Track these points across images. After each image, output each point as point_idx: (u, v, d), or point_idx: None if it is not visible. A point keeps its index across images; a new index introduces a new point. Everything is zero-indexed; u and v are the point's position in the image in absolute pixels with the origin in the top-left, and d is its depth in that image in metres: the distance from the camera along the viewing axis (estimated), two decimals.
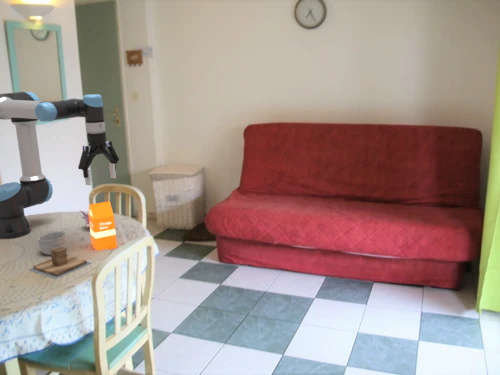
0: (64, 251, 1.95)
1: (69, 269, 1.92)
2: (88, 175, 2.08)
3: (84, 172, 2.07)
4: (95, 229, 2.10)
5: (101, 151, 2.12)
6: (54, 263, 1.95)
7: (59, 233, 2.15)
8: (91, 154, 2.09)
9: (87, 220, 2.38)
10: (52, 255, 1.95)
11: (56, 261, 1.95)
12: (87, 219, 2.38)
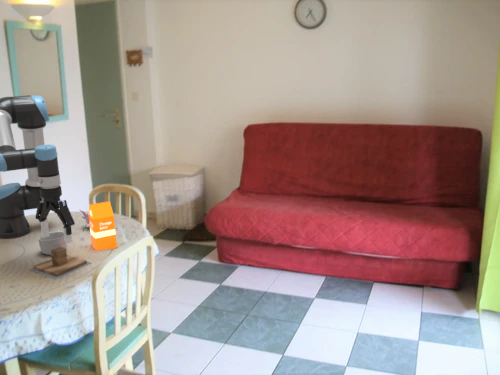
0: (64, 251, 1.95)
1: (69, 269, 1.92)
2: None
3: None
4: (95, 229, 2.10)
5: (51, 208, 1.90)
6: (54, 263, 1.95)
7: (59, 233, 2.15)
8: None
9: (87, 220, 2.38)
10: (52, 255, 1.95)
11: (56, 261, 1.95)
12: (87, 219, 2.38)
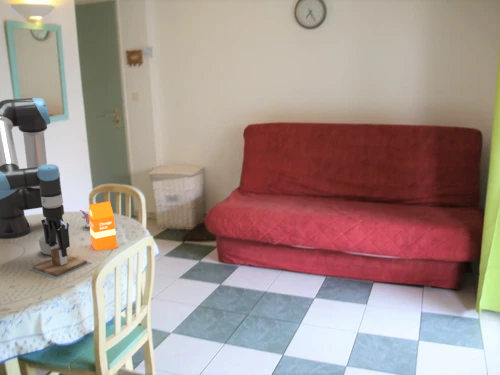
0: None
1: (69, 269, 1.92)
2: None
3: None
4: (95, 229, 2.10)
5: None
6: (54, 263, 1.95)
7: None
8: None
9: (87, 219, 2.39)
10: (52, 255, 1.95)
11: (56, 261, 1.95)
12: (87, 219, 2.39)
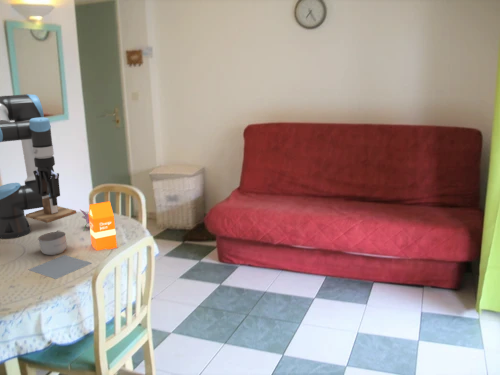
0: None
1: (59, 217, 2.04)
2: None
3: None
4: (95, 229, 2.10)
5: None
6: (45, 212, 2.07)
7: (59, 233, 2.15)
8: None
9: (87, 219, 2.39)
10: (43, 204, 2.06)
11: (47, 209, 2.06)
12: (88, 219, 2.39)
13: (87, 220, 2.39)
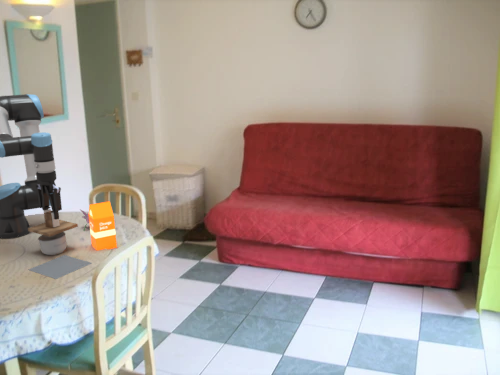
0: None
1: (61, 230, 2.06)
2: None
3: None
4: (95, 229, 2.10)
5: None
6: (47, 225, 2.09)
7: (59, 233, 2.15)
8: None
9: (88, 219, 2.39)
10: (45, 218, 2.09)
11: (48, 223, 2.08)
12: (88, 218, 2.39)
13: (87, 220, 2.39)
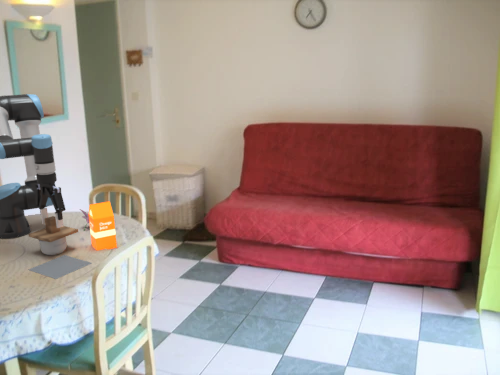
0: None
1: (62, 236, 2.07)
2: None
3: None
4: (95, 229, 2.10)
5: None
6: (48, 231, 2.10)
7: None
8: None
9: (88, 219, 2.39)
10: (46, 223, 2.09)
11: (49, 229, 2.09)
12: (88, 218, 2.39)
13: (87, 220, 2.39)
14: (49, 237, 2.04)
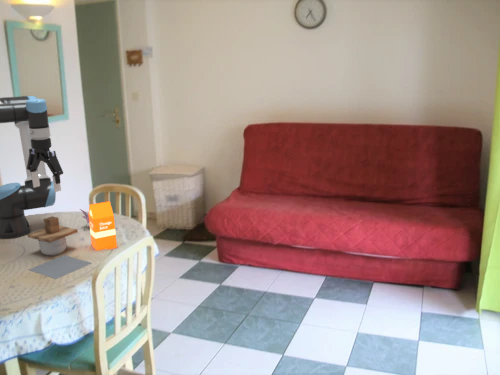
0: (56, 220, 2.10)
1: (61, 236, 2.07)
2: None
3: None
4: (95, 229, 2.10)
5: (41, 158, 2.03)
6: (47, 231, 2.10)
7: None
8: None
9: (88, 219, 2.39)
10: (45, 224, 2.09)
11: (48, 229, 2.09)
12: (88, 218, 2.39)
13: (87, 220, 2.40)
14: (49, 237, 2.04)
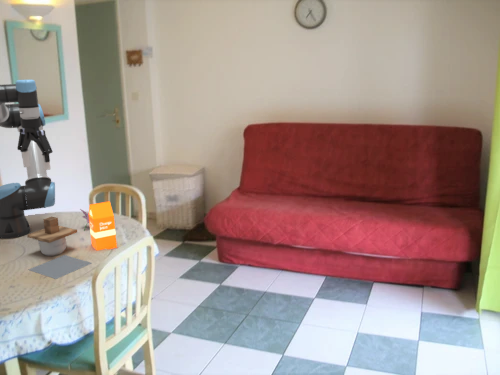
0: (56, 220, 2.09)
1: (61, 236, 2.06)
2: None
3: None
4: (95, 229, 2.10)
5: (31, 138, 2.08)
6: (47, 232, 2.09)
7: None
8: None
9: (88, 219, 2.39)
10: (45, 224, 2.09)
11: (48, 229, 2.08)
12: (88, 218, 2.39)
13: (87, 220, 2.40)
14: (48, 238, 2.04)
